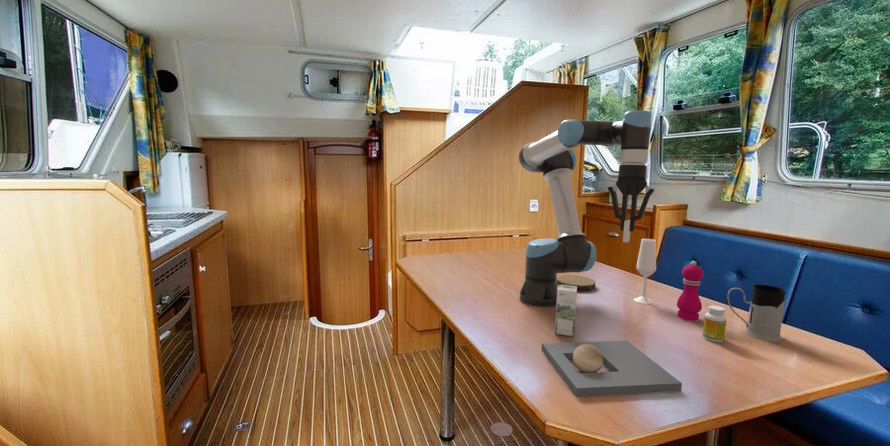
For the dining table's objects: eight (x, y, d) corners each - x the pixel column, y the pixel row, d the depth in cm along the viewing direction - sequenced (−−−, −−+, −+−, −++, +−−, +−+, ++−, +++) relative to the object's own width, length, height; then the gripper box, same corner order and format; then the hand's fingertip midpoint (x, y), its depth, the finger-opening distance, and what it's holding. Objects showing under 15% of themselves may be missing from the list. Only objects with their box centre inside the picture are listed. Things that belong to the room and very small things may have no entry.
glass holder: (784, 344, 113) (791, 294, 110) (724, 332, 120) (730, 286, 118) (778, 333, 120) (784, 287, 118) (722, 323, 127) (727, 279, 125)
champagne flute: (634, 302, 147) (639, 240, 143) (632, 297, 153) (637, 237, 149) (654, 304, 144) (659, 242, 141) (652, 299, 150) (657, 239, 147)
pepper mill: (704, 322, 128) (710, 264, 125) (680, 320, 129) (686, 262, 126) (694, 314, 135) (700, 259, 132) (672, 313, 136) (677, 257, 133)
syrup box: (574, 330, 121) (577, 285, 119) (574, 337, 115) (577, 291, 113) (555, 327, 122) (557, 283, 120) (554, 334, 117) (556, 288, 115)
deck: (626, 347, 109) (627, 340, 109) (681, 391, 88) (681, 383, 87) (541, 350, 107) (541, 343, 107) (576, 396, 85) (576, 388, 85)
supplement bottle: (717, 344, 112) (721, 312, 111) (698, 336, 117) (701, 306, 115) (727, 340, 115) (731, 309, 113) (708, 333, 119) (712, 303, 118)
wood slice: (563, 279, 178) (563, 273, 177) (599, 285, 168) (599, 279, 168) (551, 287, 165) (551, 280, 164) (589, 295, 156) (589, 287, 155)
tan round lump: (607, 343, 95) (606, 367, 97) (578, 335, 99) (578, 358, 101) (598, 359, 89) (597, 384, 91) (568, 349, 94) (568, 373, 96)
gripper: (658, 164, 115) (651, 242, 118) (612, 164, 122) (606, 237, 126) (656, 164, 109) (648, 246, 112) (607, 163, 116) (601, 240, 119)
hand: (626, 241), depth 119 cm, fingers closed
